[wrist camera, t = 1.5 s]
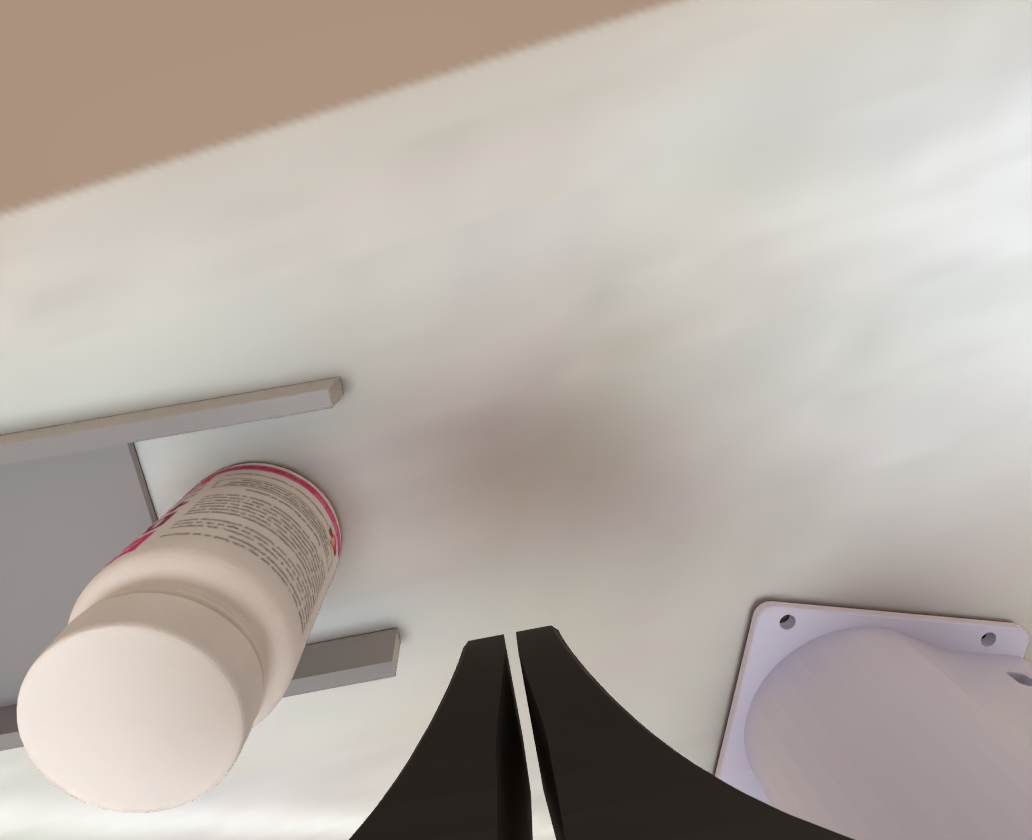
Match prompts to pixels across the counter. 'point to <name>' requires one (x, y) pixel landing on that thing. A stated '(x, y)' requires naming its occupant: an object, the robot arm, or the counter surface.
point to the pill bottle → (182, 643)
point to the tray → (123, 530)
